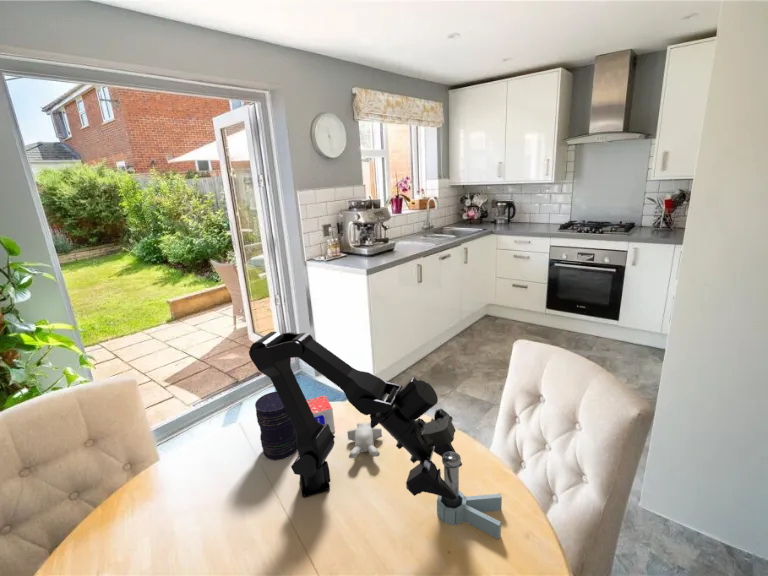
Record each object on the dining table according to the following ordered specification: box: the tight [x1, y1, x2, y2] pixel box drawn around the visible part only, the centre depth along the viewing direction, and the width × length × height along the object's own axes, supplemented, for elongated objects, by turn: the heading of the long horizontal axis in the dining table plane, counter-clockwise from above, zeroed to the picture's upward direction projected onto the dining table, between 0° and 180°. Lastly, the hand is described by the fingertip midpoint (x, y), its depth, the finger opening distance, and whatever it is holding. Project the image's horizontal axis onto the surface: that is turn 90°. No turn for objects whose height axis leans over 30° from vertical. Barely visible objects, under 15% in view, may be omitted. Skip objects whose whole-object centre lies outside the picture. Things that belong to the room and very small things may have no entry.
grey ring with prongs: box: [436, 490, 503, 541], centre depth 81 cm, size 13×8×4 cm, turn 72°
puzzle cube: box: [306, 395, 336, 433], centre depth 113 cm, size 8×8×8 cm
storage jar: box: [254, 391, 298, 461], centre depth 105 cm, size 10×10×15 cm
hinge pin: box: [441, 451, 462, 509], centre depth 81 cm, size 4×4×14 cm
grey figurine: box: [346, 422, 383, 459], centre depth 105 cm, size 10×5×15 cm
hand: (458, 481), depth 80 cm, fingers open, 9 cm apart
